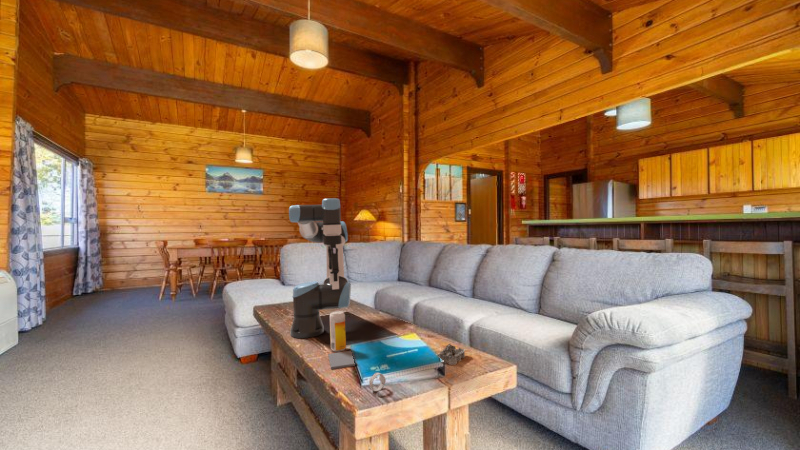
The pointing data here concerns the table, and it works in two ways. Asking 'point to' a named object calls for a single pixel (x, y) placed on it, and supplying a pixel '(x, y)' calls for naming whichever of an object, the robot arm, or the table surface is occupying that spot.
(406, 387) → the table surface
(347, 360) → the mat
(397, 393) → the table surface
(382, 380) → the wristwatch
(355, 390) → the table surface
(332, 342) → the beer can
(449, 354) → the egg carton
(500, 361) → the table surface
